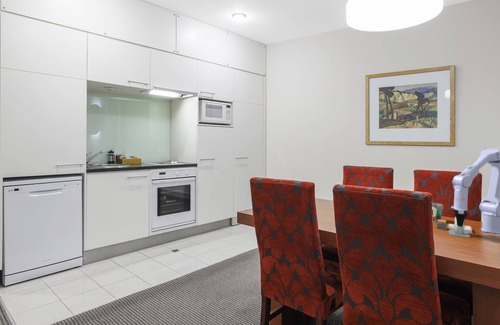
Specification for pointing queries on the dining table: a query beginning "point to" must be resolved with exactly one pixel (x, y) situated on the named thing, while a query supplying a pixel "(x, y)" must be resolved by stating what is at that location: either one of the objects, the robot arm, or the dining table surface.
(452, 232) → the mat
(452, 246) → the dining table surface
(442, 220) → the release plunger
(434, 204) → the food container
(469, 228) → the filter housing
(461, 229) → the cylinder
